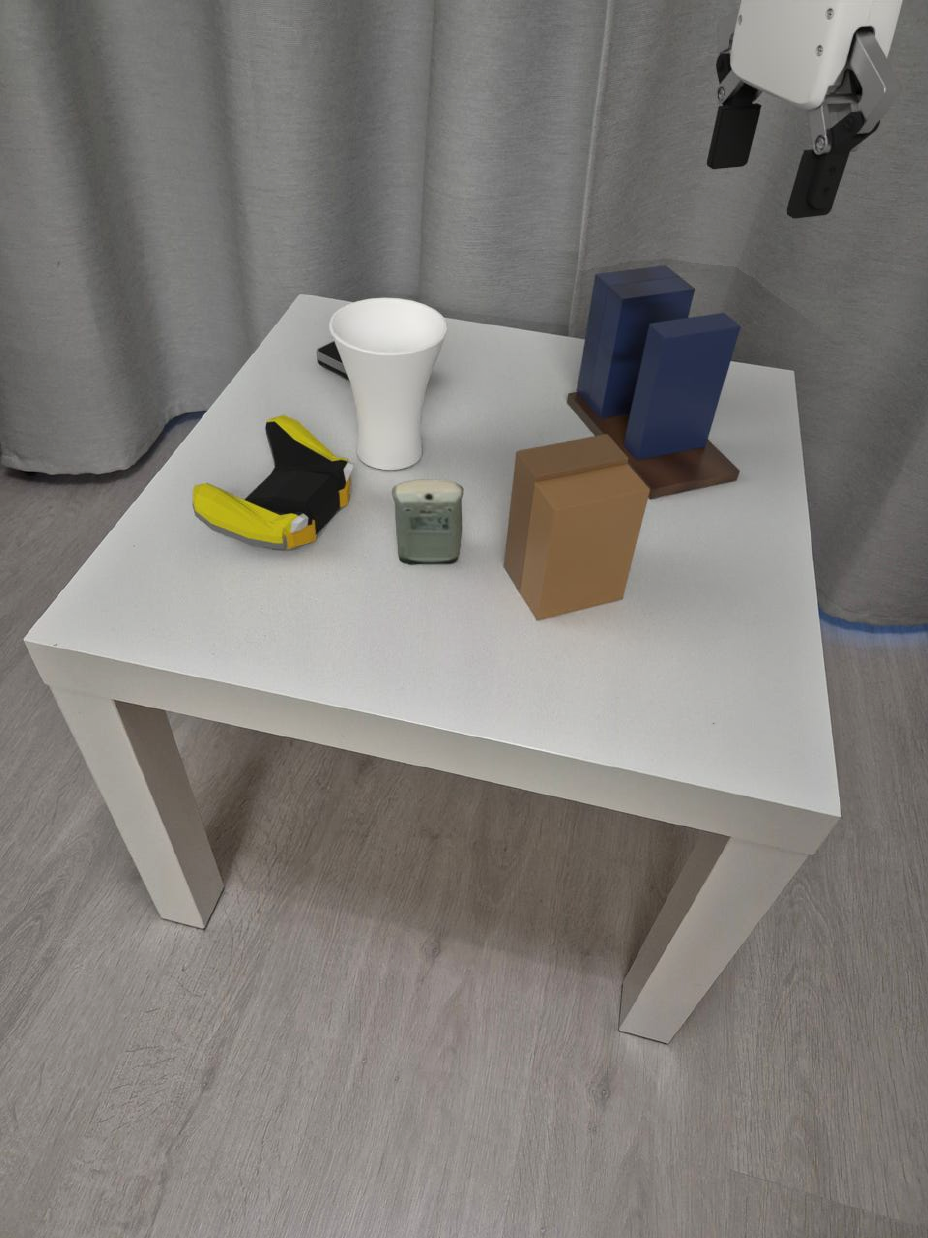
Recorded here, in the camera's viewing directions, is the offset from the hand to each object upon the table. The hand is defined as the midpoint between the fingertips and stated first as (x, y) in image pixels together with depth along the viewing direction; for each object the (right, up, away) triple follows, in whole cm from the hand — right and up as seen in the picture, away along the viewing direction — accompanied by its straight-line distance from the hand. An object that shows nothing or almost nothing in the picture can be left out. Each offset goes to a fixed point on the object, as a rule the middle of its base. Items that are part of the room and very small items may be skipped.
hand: (764, 189), depth 61 cm
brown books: (-13, -27, +14) cm, 33 cm away
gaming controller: (-37, -20, +19) cm, 46 cm away
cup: (-28, -13, +26) cm, 41 cm away
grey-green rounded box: (-24, -25, +16) cm, 38 cm away
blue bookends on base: (-2, -11, +30) cm, 32 cm away
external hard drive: (-31, -3, +37) cm, 48 cm away
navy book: (-1, -12, +27) cm, 30 cm away
